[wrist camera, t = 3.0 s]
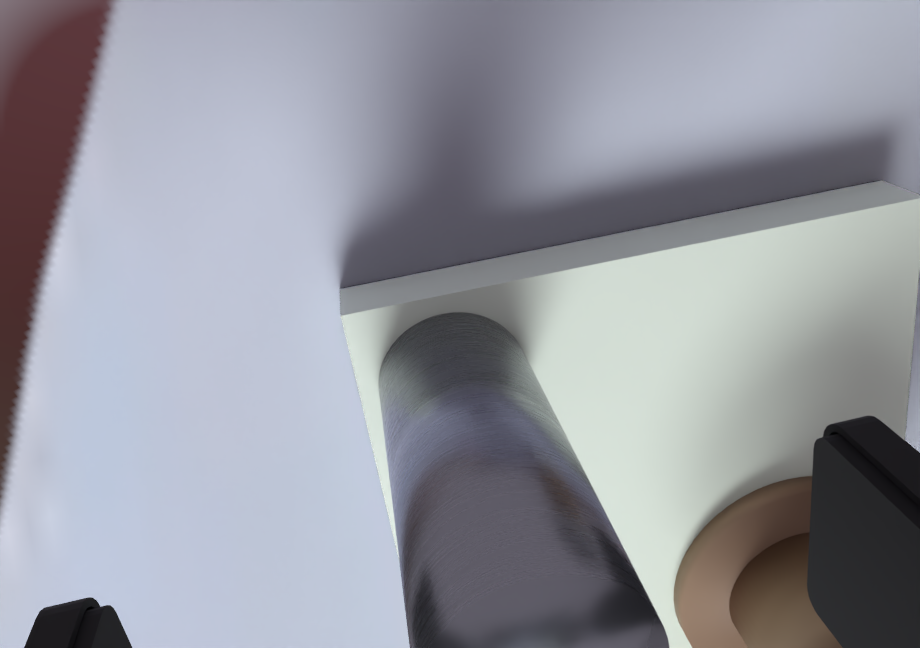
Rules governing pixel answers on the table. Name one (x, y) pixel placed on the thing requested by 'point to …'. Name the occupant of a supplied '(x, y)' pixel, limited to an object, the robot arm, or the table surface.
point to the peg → (497, 503)
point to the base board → (687, 351)
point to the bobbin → (752, 575)
